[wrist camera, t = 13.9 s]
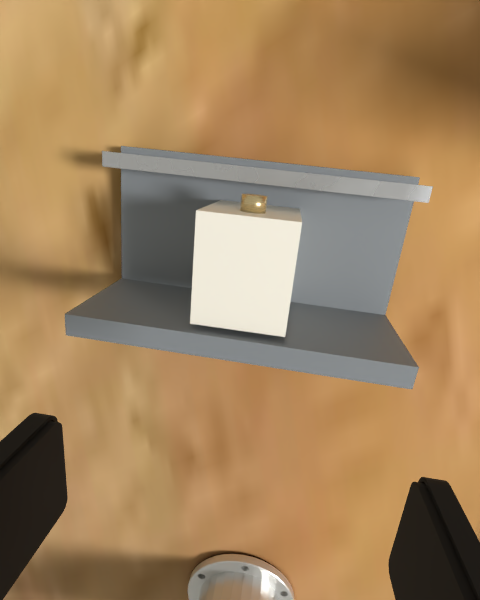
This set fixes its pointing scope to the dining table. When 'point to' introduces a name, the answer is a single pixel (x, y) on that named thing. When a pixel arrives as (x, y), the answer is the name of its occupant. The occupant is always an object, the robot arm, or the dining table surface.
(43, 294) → the dining table surface
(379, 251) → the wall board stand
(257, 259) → the cabinet block
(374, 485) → the dining table surface
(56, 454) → the robot arm
